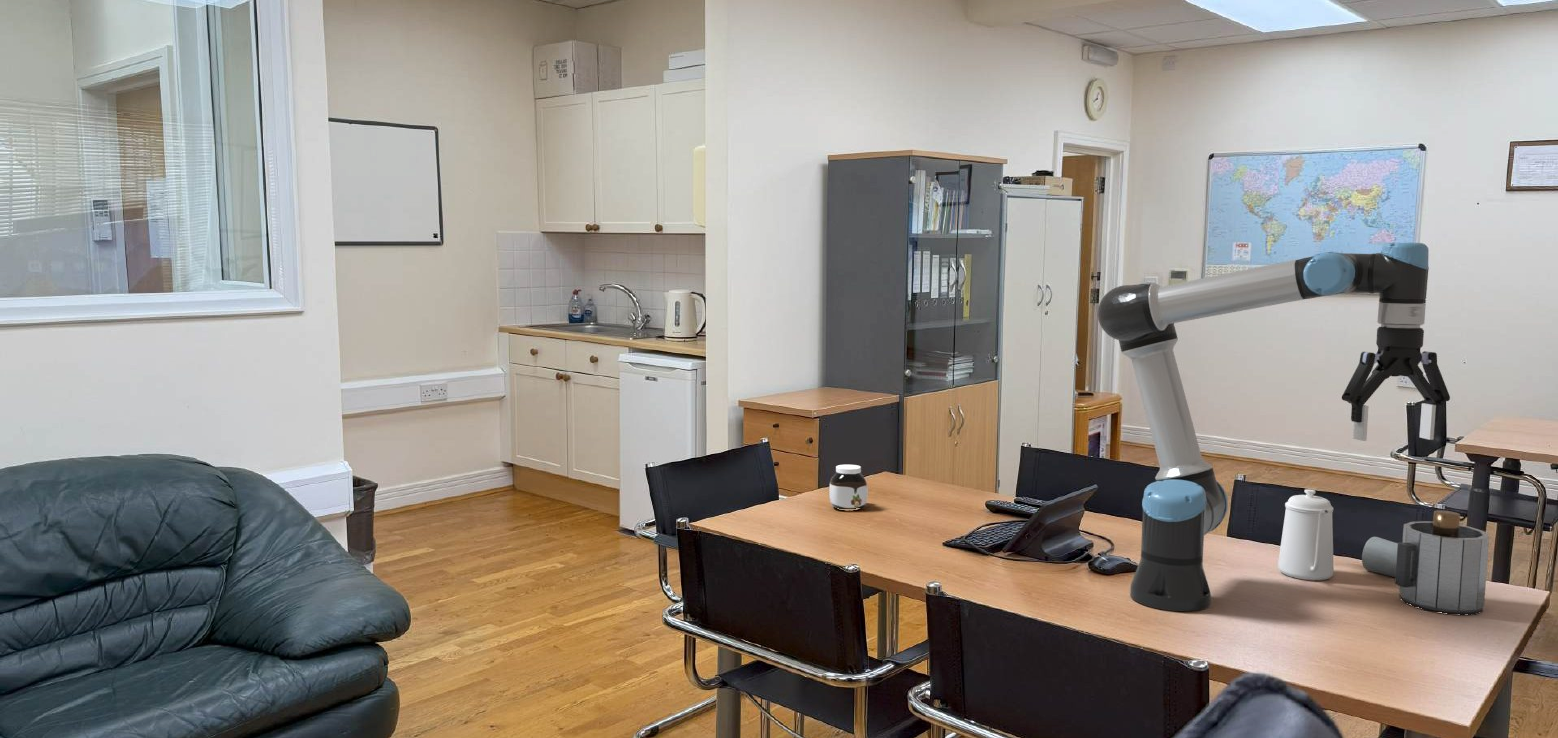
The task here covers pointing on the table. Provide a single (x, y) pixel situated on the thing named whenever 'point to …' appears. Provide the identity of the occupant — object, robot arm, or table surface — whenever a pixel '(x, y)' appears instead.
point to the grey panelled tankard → (1442, 569)
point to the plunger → (1446, 523)
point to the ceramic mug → (1380, 556)
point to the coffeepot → (1307, 538)
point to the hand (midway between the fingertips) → (1393, 439)
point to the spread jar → (848, 488)
